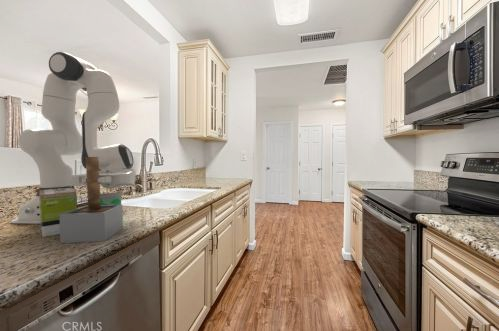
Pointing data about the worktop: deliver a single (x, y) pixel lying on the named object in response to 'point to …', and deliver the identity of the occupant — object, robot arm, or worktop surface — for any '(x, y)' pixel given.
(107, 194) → the food container
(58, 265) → the worktop surface
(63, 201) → the tea box
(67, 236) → the gray open-top rectangular bin
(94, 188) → the brown wooden post
